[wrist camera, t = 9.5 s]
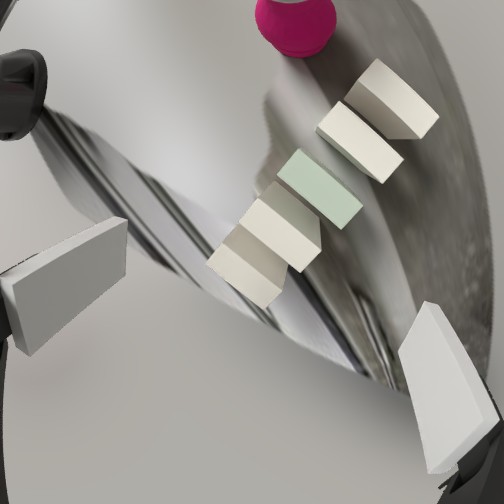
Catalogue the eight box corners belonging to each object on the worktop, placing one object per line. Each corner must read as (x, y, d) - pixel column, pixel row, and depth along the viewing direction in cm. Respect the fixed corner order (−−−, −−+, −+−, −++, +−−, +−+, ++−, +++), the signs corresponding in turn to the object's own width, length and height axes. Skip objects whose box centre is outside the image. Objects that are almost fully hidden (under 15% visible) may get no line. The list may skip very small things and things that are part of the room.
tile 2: (260, 197, 32) (238, 222, 23) (274, 180, 31) (257, 197, 22) (304, 234, 32) (300, 272, 23) (319, 217, 31) (321, 250, 22)
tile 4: (315, 131, 28) (317, 126, 19) (330, 114, 27) (339, 100, 18) (360, 170, 29) (382, 183, 20) (375, 153, 28) (403, 159, 19)
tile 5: (343, 99, 27) (357, 80, 17) (357, 83, 26) (376, 57, 17) (388, 139, 27) (420, 139, 18) (401, 123, 26) (439, 116, 17)
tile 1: (234, 229, 34) (205, 264, 24) (248, 212, 33) (222, 242, 23) (277, 263, 34) (263, 310, 25) (291, 248, 33) (282, 291, 24)
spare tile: (287, 164, 30) (276, 174, 21) (302, 147, 29) (298, 148, 20) (332, 203, 31) (341, 229, 21) (347, 185, 30) (363, 205, 20)
